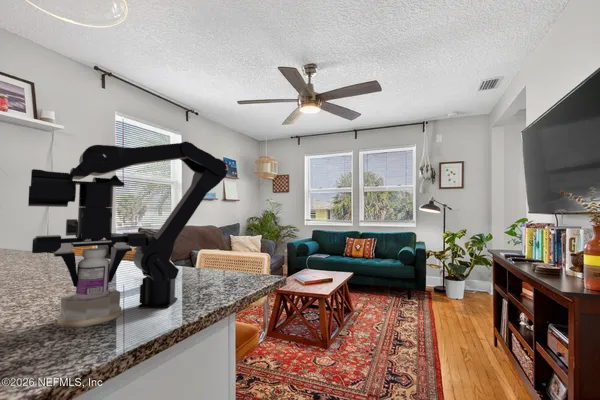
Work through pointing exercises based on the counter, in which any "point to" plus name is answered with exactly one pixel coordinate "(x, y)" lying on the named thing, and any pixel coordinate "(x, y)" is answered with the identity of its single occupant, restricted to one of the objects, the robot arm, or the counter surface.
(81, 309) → the socket base
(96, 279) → the pill bottle
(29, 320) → the counter surface
